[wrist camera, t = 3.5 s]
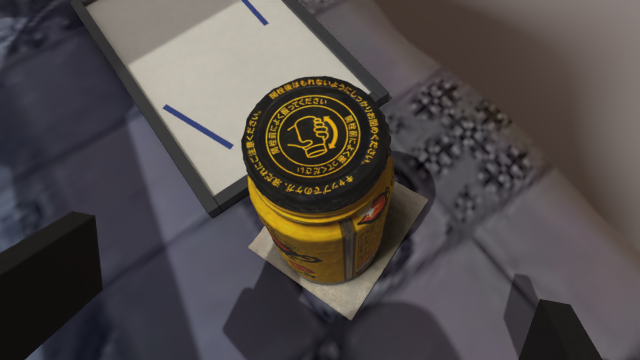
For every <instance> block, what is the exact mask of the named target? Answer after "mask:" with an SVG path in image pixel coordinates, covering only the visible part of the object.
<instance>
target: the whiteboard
mask: <svg viewBox="0 0 640 360" xmlns="http://www.w3.org/2000/svg"><path fill="white" fill-rule="evenodd" d="M70 4H71V5H72V7H73V9H74V10H75V12H76V13H77V15H78V16H79V18H80V19H81V21H82V22H83V24H84V25H85V27H86V28H87V30H88V31H89V33H90V34H91V36H92V38H93V39H94V41H95V42H96V44H97V45H98V47H99V48H100V50H101V51H102V53H103V54H104V56H105V57H106V59H107V60H108V62H109V64H110V65H111V67H112V68H113V70H114V71H115V73H116V74H117V76H118V77H119V79H120V80H121V82H122V83H123V85H124V86H125V88H126V89H127V91H128V93H129V94H130V96H131V97H132V99H133V100H134V102H135V103H136V105H137V106H138V108H139V109H140V111H141V112H142V114H143V115H144V117H145V118H146V120H147V122H148V123H149V125H150V126H151V128H152V129H153V131H154V132H155V134H156V135H157V137H158V138H159V140H160V141H161V143H162V144H163V146H164V148H165V149H166V151H167V152H168V154H169V155H170V157H171V158H172V160H173V161H174V163H175V164H176V166H177V167H178V169H179V170H180V172H181V173H182V175H183V177H184V178H185V180H186V181H187V183H188V184H189V186H190V187H191V189H192V190H193V192H194V193H195V195H196V196H197V198H198V199H199V201H200V202H201V204H202V206H203V207H204V209H205V210H206V212H207V213H208V214H209V215H210V217H211V218H214V217H215V216H217V215H218V214H220V213H221V212H222V211H224V210H226V209H227V208H229V207H230V206H232V205H233V204H235V203H236V202H238V201H239V200H241V199H242V198H244V197H245V196H247V195H248V194H250V193H249V189H248V173H247V172H246V166H245V164H244V161H243V153H242V149H241V139H242V137H243V134H244V130H245V126H246V119H247V117H248V116H249V114H250V112H251V111H252V110H253V109H254V108H255V106H256V104H257V103H258V102H259V101H260V100H261V99H262V98H263V97H264V96H265V95H266V94H267V93H269V92H270V91H271V90H272V89H274V88H277V87H279V86H281V85H283V84H285V83H288V82H290V81H293V80H295V79H298V78H302V77H311V76H330V77H334V78H337V79H341V80H344V81H348V82H349V83H351V84H353V85H354V86H356V87H358V88H360V89H362V90H363V91H364V92H366V93H367V94H369V95H370V96H371V97H372V98H373V99H374V101H375V103H376V104H377V105H378V107H379V106H381V105H382V104H384V103H385V102H387V101H388V96H389V92H388V91H387V90H386V89H385V88H384V87H383V86H382V85H381V84H380V83H379V82H378V81H377V80H376V79H375V78H374V77H373V76H372V75H371V74H370V73H369V72H368V71H367V70H366V69H365V68H364V67H363V66H362V65H361V64H360V63H359V62H358V61H357V60H356V59H355V58H354V57H353V56H352V55H351V54H350V53H349V52H348V51H347V50H346V49H345V48H344V47H343V46H342V45H341V44H340V43H339V42H338V41H337V40H336V39H335V38H334V37H333V36H332V35H331V34H330V33H329V32H328V31H327V30H326V29H325V28H324V27H323V26H322V25H321V24H320V23H319V22H318V21H317V20H316V19H315V18H314V17H313V16H312V15H311V14H310V13H309V12H308V11H307V10H306V9H305V8H304V7H303V6H302V5H301V4H300V3H299V2H298V1H297V0H73V1H71V2H70Z"/></svg>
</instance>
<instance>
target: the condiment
mask: <svg viewBox="0 0 640 360" xmlns="http://www.w3.org/2000/svg"><path fill="white" fill-rule="evenodd" d="M390 143H391V136H390V135H389V126H388V124H387V123H386V121H385V115H384V114H383V112H382V111H380V109H379V108H378V105H377V104H376V103H375V101H374V99H373V98H372V97H371V96H370V95H369V94H367V93H366V92H364V91H363V90H362V89H360V88H358V87H356V86H354V85H353V84H351V83H349V82H348V81H344V80H341V79H337V78H334V77H330V76H311V77H302V78H298V79H295V80H293V81H290V82H288V83H285V84H283V85H281V86H279V87H277V88H274V89H272V90H271V91H270V92H269V93H267V94H266V95H265V96H264V97H263V98H262V99H261V100H260V101H259V102H258V103H257V104H256V106H255V108H254V109H253V110H252V111H251V112H250V114H249V116H248V117H247V119H246V126H245V130H244V134H243V137H242V139H241V149H242V153H243V161H244V164H245V166H246V172H247V173H248V189H249V193H250V199H251V201H252V203H253V205H254V207H255V209H256V211H257V213H258V215H259V217H260V219H261V221H262V223H263V224H264V225H265V227H264V228H263V229H262V230H261V232H260V233H259V235H258V236H257V237H256V238H255V240H254V241H253V242H252V243H251V244H250V245H249V246H248V248H250V249H251V250H252V251H254V252H255V253H257V254H258V255H260V256H261V257H262V258H264V259H265V260H266V261H268V262H269V263H271V264H272V265H273V266H275V267H276V268H278V269H279V270H280V271H282V272H283V273H285V274H286V275H287V276H289V277H290V278H292V279H293V280H294V281H296V282H297V283H299V284H300V285H301V286H303V287H304V288H306V289H307V290H308V291H310V292H311V293H313V294H314V295H315V296H317V297H318V298H320V299H321V300H323V301H324V302H325V303H327V304H329V305H330V306H331V307H333V308H334V309H335V310H337V311H338V312H340V313H341V314H342V315H344V316H345V317H347V318H348V319H349V320H352V318H353V317H354V315H355V314H356V312H357V310H358V309H359V307H360V306H361V304H362V303H363V301H364V300H365V298H366V296H367V295H368V293H369V292H370V290H371V289H372V287H373V285H374V284H375V282H376V281H377V279H378V278H379V276H380V275H381V273H382V271H383V270H384V268H385V267H386V265H387V264H388V262H389V260H390V259H391V257H392V256H393V254H394V253H395V251H396V249H397V248H398V246H399V245H400V243H401V242H402V240H403V239H404V237H405V235H406V234H407V232H408V231H409V229H410V228H411V226H412V225H413V223H414V221H415V220H416V218H417V217H418V215H419V213H420V212H421V210H422V209H423V207H424V206H425V204H426V203H427V201H428V199H427V198H425V197H423V196H421V195H420V194H418V193H415V192H413V191H411V190H410V189H408V188H406V187H404V186H403V185H401V184H399V183H397V182H396V181H394V163H393V160H392V157H391V149H390V147H389V146H390Z"/></svg>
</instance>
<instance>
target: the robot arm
mask: <svg viewBox="0 0 640 360" xmlns="http://www.w3.org/2000/svg"><path fill="white" fill-rule="evenodd" d="M102 290H103V286H102V277H101V267H100V258H99V248H98V239H97V229H96V220H95V215H90V214H84V213H79V212H74V211H72V212H71V213H69V214H67V215H66V216H64V217H62V218H60V219H59V220H57V221H55V222H53V223H52V224H50V225H48V226H46V227H45V228H43V229H41V230H40V231H38V232H36V233H34V234H33V235H31V236H29V237H27V238H26V239H24V240H22V241H20V242H19V243H17V244H15V245H14V246H12V247H10V248H8V249H7V250H5V251H3V252H1V253H0V360H25V359H26V358H27V357H28V356H29V355H30V354H31V353H33V352H34V351H35V350H36V349H37V348H38V347H39V346H40V345H42V344H43V343H44V342H45V341H46V340H47V339H48V338H49V337H50V336H52V335H53V334H54V333H55V332H56V331H57V330H58V329H59V328H61V327H62V326H63V325H64V324H65V323H66V322H67V321H68V320H69V319H71V318H72V317H73V316H74V315H75V314H76V313H77V312H78V311H80V310H81V309H82V308H83V307H84V306H85V305H86V304H87V303H88V302H90V301H91V300H92V299H93V298H94V297H95V296H96V295H97V294H99V293H100V292H101V291H102ZM519 360H602V358H601V356H600V355H599V353H598V351H597V350H596V348H595V346H594V344H593V343H592V341H591V339H590V338H589V336H588V334H587V332H586V331H585V329H584V327H583V326H582V324H581V322H580V320H579V319H578V317H577V315H576V314H575V312H574V310H573V308H572V307H571V305H569V304H564V303H559V302H553V301H548V300H543V299H540V301H539V303H538V306H537V309H536V312H535V315H534V318H533V320H532V323H531V326H530V329H529V332H528V335H527V337H526V340H525V343H524V346H523V349H522V352H521V354H520V357H519Z"/></svg>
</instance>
